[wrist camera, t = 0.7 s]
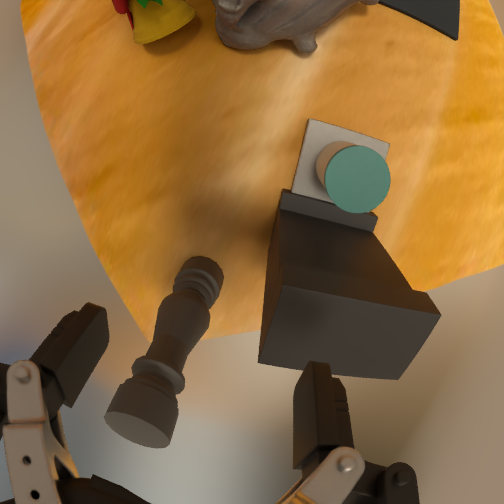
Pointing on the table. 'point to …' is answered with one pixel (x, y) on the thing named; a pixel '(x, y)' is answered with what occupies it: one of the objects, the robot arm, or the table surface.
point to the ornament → (155, 17)
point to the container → (353, 176)
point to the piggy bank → (276, 21)
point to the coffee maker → (336, 281)
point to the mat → (431, 13)
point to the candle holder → (166, 358)
